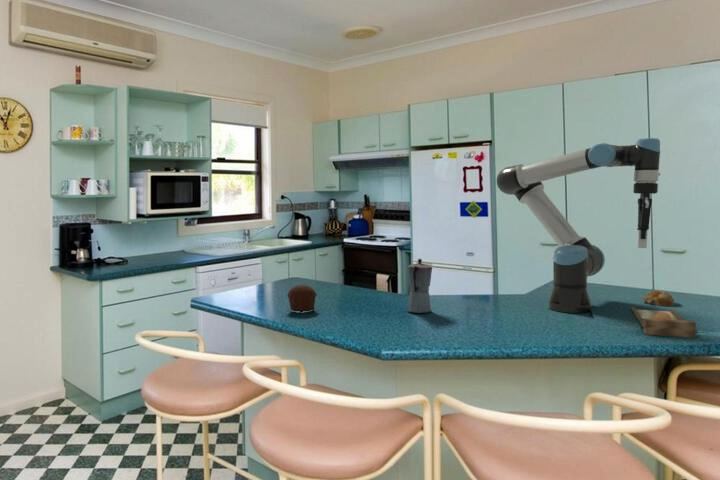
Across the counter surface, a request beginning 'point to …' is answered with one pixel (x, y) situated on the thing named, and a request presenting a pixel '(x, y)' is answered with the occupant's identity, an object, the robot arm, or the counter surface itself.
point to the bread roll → (659, 298)
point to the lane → (664, 324)
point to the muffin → (302, 298)
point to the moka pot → (419, 287)
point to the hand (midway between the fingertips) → (641, 247)
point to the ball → (662, 316)
